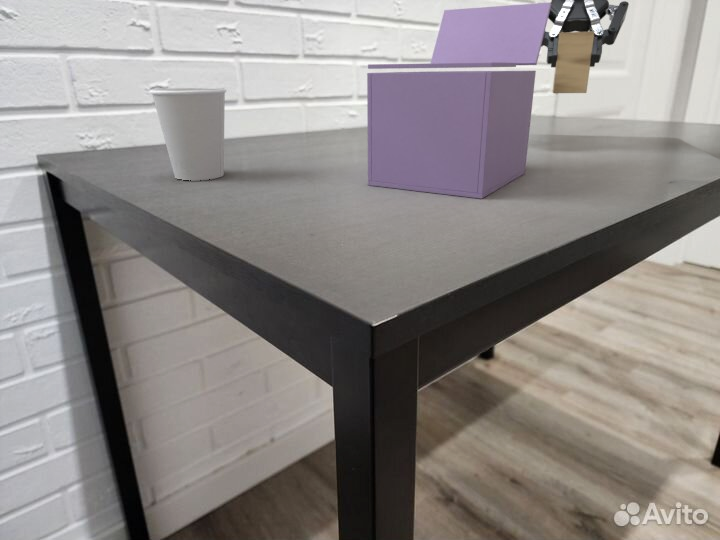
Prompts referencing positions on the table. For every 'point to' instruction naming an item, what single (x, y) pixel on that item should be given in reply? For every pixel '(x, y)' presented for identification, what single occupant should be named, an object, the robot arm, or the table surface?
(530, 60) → the box lid
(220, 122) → the dixie cup
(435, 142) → the box
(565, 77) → the block
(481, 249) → the table surface
